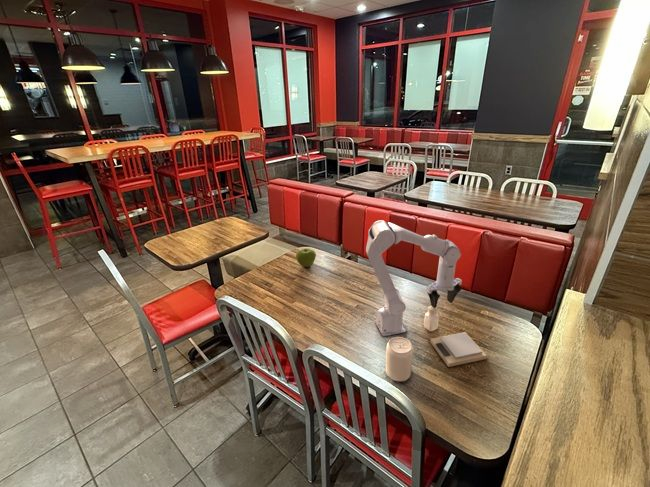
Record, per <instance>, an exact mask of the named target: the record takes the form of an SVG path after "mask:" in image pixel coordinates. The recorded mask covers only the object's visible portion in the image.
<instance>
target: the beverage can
mask: <svg viewBox="0 0 650 487" xmlns="http://www.w3.org/2000/svg"><path fill="white" fill-rule="evenodd" d="M385 349H386V350H385V351H386V352H385V374H386V375H387V377H388V378H389V379H391V380H392V381H395V382H405V381H407V380H408V379H409V378H410V377H411V375H412V364H413V354H414V347H413V345H412V343H411V341H410V340H409V339H407V338H405V337H402V336H394V337H392V338H390V339H389V340H388V342H387V344H386V348H385Z"/></svg>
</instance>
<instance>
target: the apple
mask: <svg viewBox="0 0 650 487" xmlns="http://www.w3.org/2000/svg"><path fill="white" fill-rule="evenodd" d="M316 257H317V253H316V251H315V250H314V249H312V248H309V247H306V248H305V247H304V248H301V249H299V250H297V252H296V254H295V258H296V261H297V262H298V265H300V266H302V267H305V268H309V267H311V266H312V265H314V262H315V260H316Z"/></svg>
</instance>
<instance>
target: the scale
mask: <svg viewBox="0 0 650 487" xmlns="http://www.w3.org/2000/svg"><path fill="white" fill-rule="evenodd" d="M429 341H430V344H431V345H432V347H433V348H434V349H435V351H436V353H437V354H438V355H439V357H440V358H441V359H442V360H443V361H444V363H445V364H446V366H447V368H450V367H451V368H452V367H455V366H460V365H464V364H469V363H474V362H479V361H484V360H486V359H487V356H488V355H487V354H486V353H485V352H484V351H483V349H482V348H481V347H479V345H478V344H477V343H476V342H475V341H474V340H473V339H472V337H470V336H469V334H468V333H467V332H466V331H464V332H458V333H454V334H449V335H443V336H438V337H433V338H430V340H429Z"/></svg>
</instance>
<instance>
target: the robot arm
mask: <svg viewBox="0 0 650 487" xmlns="http://www.w3.org/2000/svg"><path fill="white" fill-rule="evenodd" d="M401 241H403V242H406V243H410V244H413V245H416V246H420V248H421V250H422V251H424V252H426V253H428V254H429V253H430V254H432V255H435V256H438V257H439V259H438V266H437V275H436V281H434V282H432V283H431V284H429V285H428V286H426V288H425V291H426V293H427V295H428V298H429V301H430V306H432V307H433V308H436V307H437V306H438V301H439V300H440V297H441V294H439V292H438V291H447V294H446V300H447V301H448V302H449V303H450V304H452V303H453V302H454V300H455V298H456V296H457V295H458V294H459V292H461V291H462V287H461V286H462V283H463V280H462V279H461V278H460V277H456V278H455V273H456V268H457V267H456V266H457V261H459V259H460V258H461V256H462V253H461V250H460V248H459V247H458V246H457V245H456V244H455V243H454V242H453V241H451V240H450V239H442V238H439V237H438V236H437V235H436V234H432V235H431V234H426V235H421V234H419V233H416V232H414V231H411V230H409V229H406V228H404V227H401V226H399V225H397V224H395V223H392V222H386V221H385V220H377V221H375V222H373V223H372V225H371V226H370V228H369V229H368V236H367V243H366V246H365V252H366V255H367V258H368V260H369V262H370V264H371V267H372V270H373V271H374V273H375V276H376V278H377V280H378V282H379V285H380V288H381V289H382V292H383V294H382V297H383V300H384V301H385V302H384V305H383V307H382V308H379V309H378V310H377V311H376V322H375V324H376V326H377V328H378V330H379V332H380V334H381V335H382V337H387V336H391V335H398V334H403V333H406V332H407V330H406V328H405V326H404V325H403V321H404V320H403V318H404V313H405V310H406V307H407V306H406V303H405V302H404V301H403V298H402V296H401V294H400V291H399V289H397V288H396V286H395V284H394V282H393V280H392V277H391V275H390V272H389V270H388V267H387V265H386V263H385V261H384V258H383V254H384V252H386V251H387V250H388V249H390V248H391V247H392V246H393V245H397V244H399V243H400V242H401Z"/></svg>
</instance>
